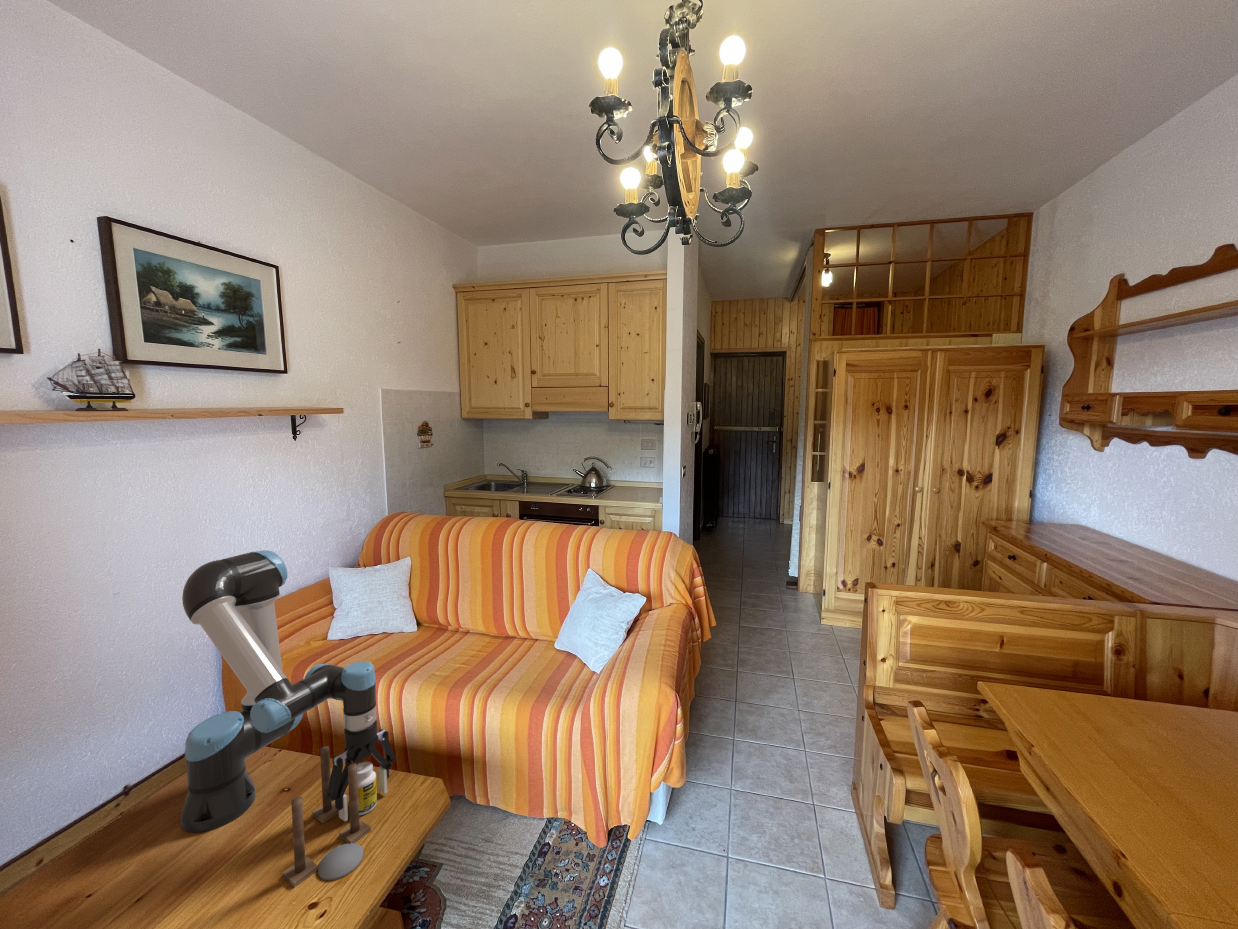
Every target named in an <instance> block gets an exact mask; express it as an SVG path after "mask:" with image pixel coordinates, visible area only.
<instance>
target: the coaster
mask: <svg viewBox="0 0 1238 929" xmlns="http://www.w3.org/2000/svg"><path fill="white" fill-rule="evenodd" d="M363 858H364V849H363V847H362V846H361V845H360V844H359V843H356V842H355V843H344V844H341V845H338V846H336V847H335V848H333V849H331V850H330V851H329V852H328V853H326V854H325V855H324V856H323V858H321V860H320V862H319V864H318V870H317V873H318V876H319V877H320V879H322V880H324V881H335V880H339V879H342V878H345V877H346V876H348V875H350V874H351V873H352V872H354V871H355V870H356V869H357V868H358V867H359V866H360V865H361V863H362V861H363Z"/></svg>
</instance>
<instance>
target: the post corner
mask: <svg viewBox="0 0 1238 929" xmlns="http://www.w3.org/2000/svg"><path fill="white" fill-rule="evenodd" d="M347 787H348V802H349V803H348V804H349V806H348V807H349V809H348V810H349V825H348V826H347V827H345V828H344V829H343V830H341V831H339V833H338V836H339V837H340V839H342V840H343V841H344V842H346V844H348V843H356V842H358V841H359V840H361V839H362V838H364V837H365V836H366V835H368V834H369V833H370V832H371V831H372V827H371V826H370V825H369V824H367V823H366V822H365V821H363V820H362V819H361V818H360V815H359V799H358V775H357V764H356V763H353V764H350V765H349V766H348V786H347Z"/></svg>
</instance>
